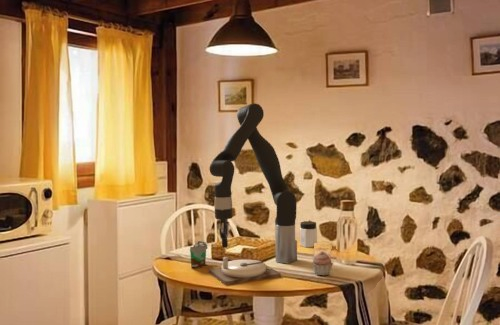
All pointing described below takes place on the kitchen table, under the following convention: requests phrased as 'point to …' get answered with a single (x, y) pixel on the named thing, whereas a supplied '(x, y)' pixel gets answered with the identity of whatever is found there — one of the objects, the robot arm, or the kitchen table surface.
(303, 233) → the jar
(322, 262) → the cupcake
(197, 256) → the food container
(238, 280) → the board
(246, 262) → the dial
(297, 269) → the kitchen table surface
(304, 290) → the kitchen table surface
